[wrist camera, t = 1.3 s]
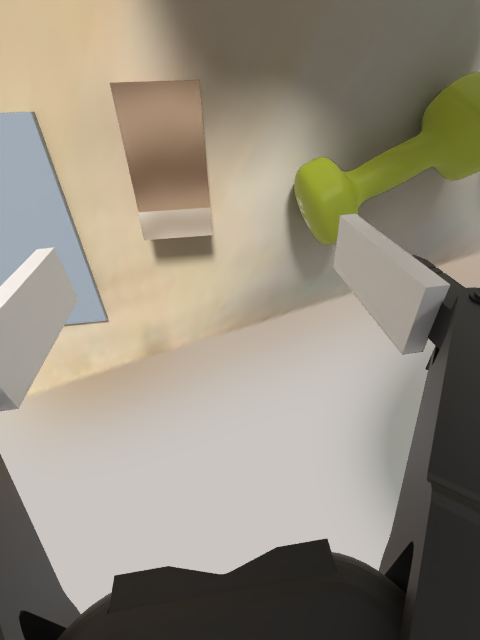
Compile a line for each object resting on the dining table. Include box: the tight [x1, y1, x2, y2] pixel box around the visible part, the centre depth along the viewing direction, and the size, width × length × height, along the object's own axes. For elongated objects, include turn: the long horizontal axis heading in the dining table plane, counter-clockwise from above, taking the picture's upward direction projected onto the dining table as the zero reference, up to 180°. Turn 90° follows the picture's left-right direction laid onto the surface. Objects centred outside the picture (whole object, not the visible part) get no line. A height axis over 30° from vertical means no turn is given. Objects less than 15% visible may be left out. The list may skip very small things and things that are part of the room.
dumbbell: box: [294, 72, 480, 245], centre depth 27 cm, size 16×8×7 cm, turn 116°
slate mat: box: [0, 112, 108, 325], centre depth 29 cm, size 20×14×1 cm
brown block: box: [110, 80, 213, 240], centre depth 26 cm, size 11×6×4 cm, turn 2°
